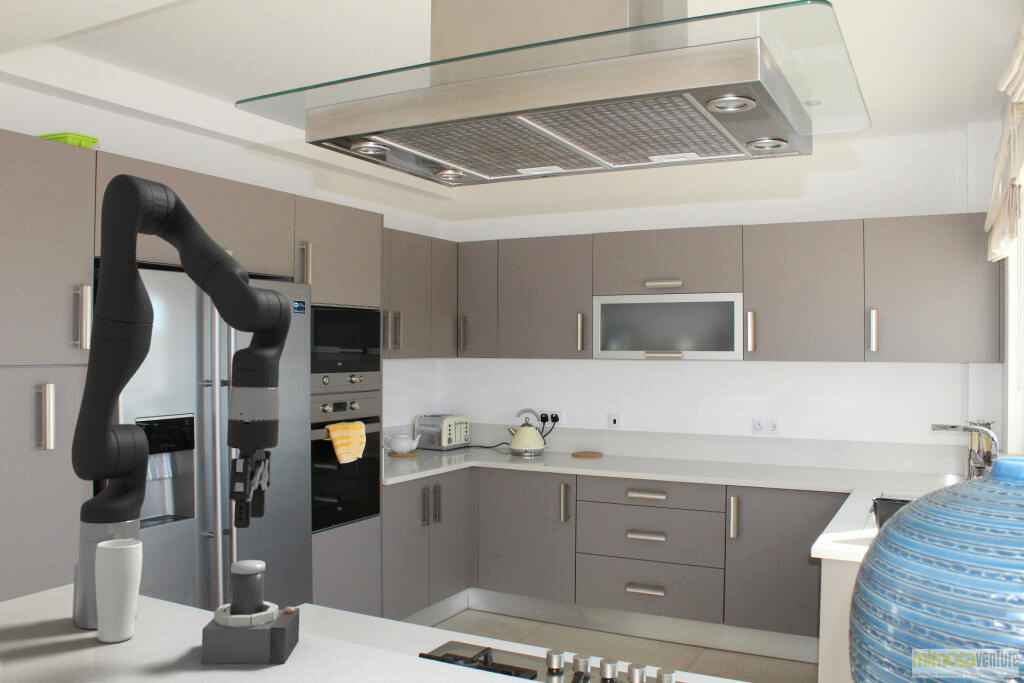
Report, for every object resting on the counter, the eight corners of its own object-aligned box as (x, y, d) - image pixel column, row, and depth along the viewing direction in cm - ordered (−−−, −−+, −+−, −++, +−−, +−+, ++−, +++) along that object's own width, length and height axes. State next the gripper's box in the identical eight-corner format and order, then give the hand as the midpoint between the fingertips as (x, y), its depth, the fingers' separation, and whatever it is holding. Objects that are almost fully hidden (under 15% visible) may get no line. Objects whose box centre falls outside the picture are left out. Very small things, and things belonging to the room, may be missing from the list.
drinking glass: (120, 647, 125) (124, 548, 126) (81, 643, 126) (86, 546, 127) (148, 633, 131) (152, 540, 132) (111, 630, 133) (115, 537, 134)
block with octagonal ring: (201, 663, 119) (202, 618, 119) (221, 641, 128) (223, 599, 129) (284, 663, 119) (286, 618, 119) (298, 641, 129) (299, 600, 129)
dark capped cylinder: (221, 618, 123) (223, 564, 123) (246, 610, 127) (248, 558, 128) (246, 623, 121) (248, 568, 121) (270, 614, 125) (272, 562, 126)
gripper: (241, 413, 132) (237, 514, 132) (214, 418, 118) (210, 530, 117) (288, 414, 133) (284, 514, 132) (267, 419, 119) (262, 531, 118)
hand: (249, 522), depth 125 cm, fingers open, 8 cm apart
